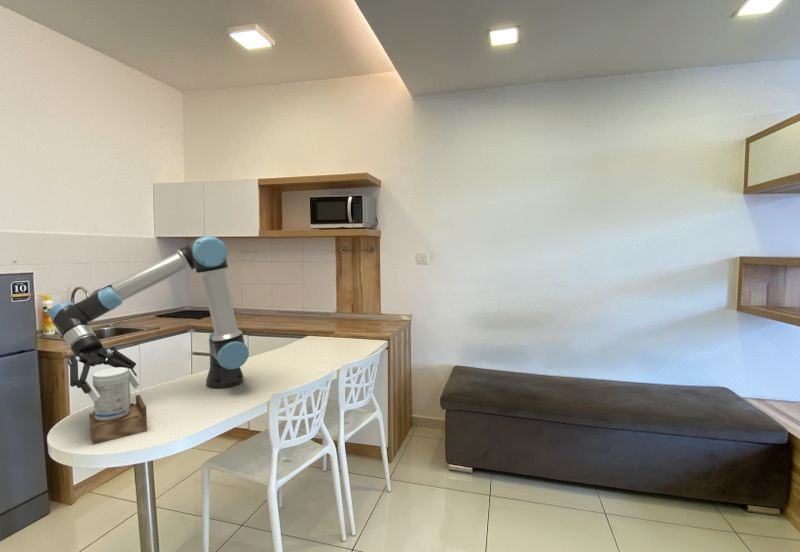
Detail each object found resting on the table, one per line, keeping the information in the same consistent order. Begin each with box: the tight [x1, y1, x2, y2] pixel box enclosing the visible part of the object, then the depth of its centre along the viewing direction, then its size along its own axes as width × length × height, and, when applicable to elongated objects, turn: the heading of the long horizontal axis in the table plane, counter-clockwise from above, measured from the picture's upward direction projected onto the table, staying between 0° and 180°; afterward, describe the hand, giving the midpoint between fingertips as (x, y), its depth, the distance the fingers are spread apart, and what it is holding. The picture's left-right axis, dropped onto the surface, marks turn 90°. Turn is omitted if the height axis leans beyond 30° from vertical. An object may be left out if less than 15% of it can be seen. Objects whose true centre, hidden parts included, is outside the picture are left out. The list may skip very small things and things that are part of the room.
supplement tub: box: [92, 367, 132, 421], centre depth 127 cm, size 10×10×15 cm
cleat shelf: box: [88, 394, 148, 445], centre depth 129 cm, size 14×14×8 cm
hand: (118, 392), depth 127 cm, fingers open, 12 cm apart
